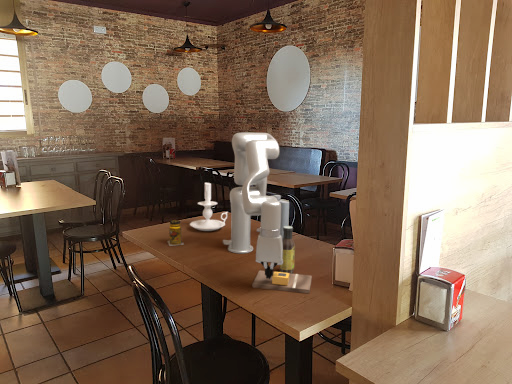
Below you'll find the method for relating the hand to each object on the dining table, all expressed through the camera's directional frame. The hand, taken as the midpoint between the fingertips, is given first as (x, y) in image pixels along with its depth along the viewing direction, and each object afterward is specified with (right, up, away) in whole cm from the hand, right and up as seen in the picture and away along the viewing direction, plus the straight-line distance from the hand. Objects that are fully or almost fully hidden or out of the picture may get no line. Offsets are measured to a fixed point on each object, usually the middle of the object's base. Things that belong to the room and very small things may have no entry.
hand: (268, 277), depth 153 cm
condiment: (-47, +7, +49) cm, 68 cm away
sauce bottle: (+8, -1, +15) cm, 17 cm away
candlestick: (-32, +12, +78) cm, 85 cm away
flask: (+6, +7, +58) cm, 59 cm away
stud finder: (+5, -2, -1) cm, 5 cm away
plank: (+6, -3, +3) cm, 7 cm away
